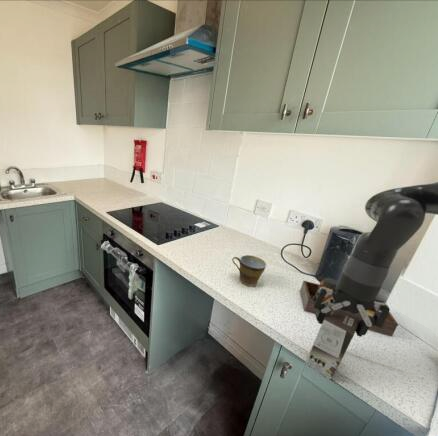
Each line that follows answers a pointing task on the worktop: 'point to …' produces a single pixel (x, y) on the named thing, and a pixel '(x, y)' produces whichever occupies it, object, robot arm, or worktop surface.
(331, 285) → the spice bottle
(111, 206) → the worktop surface
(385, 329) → the holder
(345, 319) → the coffee box
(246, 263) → the ceramic cup
